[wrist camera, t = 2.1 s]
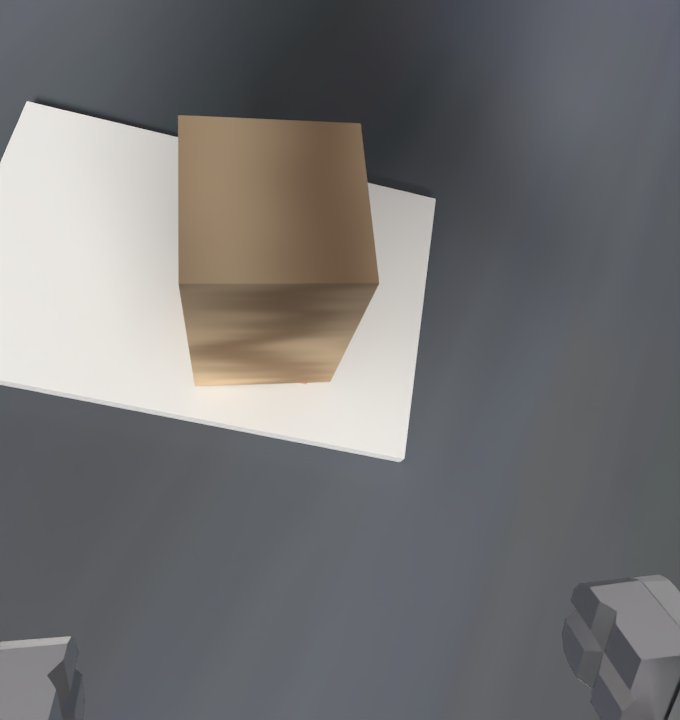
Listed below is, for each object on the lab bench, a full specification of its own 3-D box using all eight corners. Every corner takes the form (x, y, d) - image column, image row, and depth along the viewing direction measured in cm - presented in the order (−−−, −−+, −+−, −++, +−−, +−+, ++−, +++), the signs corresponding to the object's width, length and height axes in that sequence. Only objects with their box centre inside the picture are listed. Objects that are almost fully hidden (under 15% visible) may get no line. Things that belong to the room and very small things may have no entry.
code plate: (-78, 369, 27) (-88, 362, 26) (31, 112, 32) (26, 99, 31) (399, 462, 29) (404, 458, 28) (431, 207, 34) (436, 197, 33)
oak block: (194, 386, 28) (178, 283, 18) (193, 263, 30) (177, 115, 20) (330, 382, 29) (379, 283, 19) (320, 264, 31) (360, 123, 21)
